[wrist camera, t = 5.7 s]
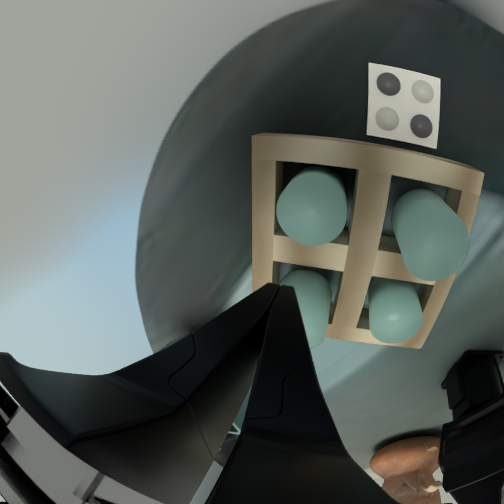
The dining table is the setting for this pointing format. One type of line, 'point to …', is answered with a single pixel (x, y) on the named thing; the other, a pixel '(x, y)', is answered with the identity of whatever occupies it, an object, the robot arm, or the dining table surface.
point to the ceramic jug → (409, 469)
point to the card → (403, 105)
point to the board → (353, 223)
